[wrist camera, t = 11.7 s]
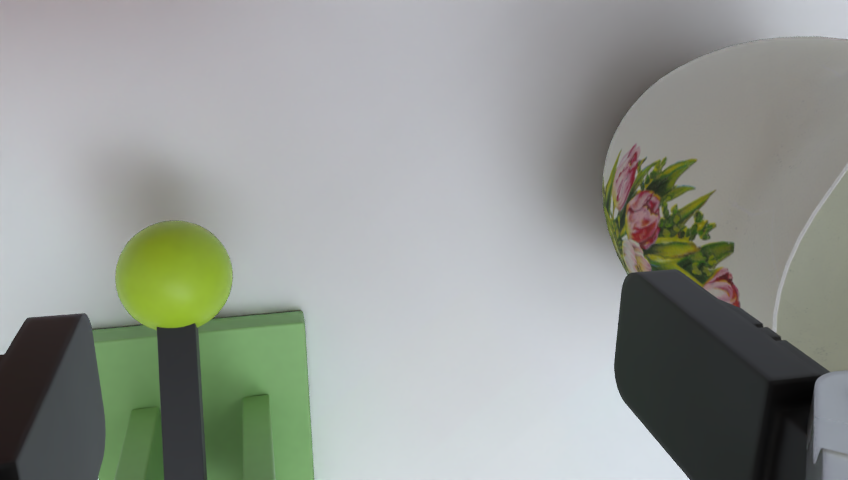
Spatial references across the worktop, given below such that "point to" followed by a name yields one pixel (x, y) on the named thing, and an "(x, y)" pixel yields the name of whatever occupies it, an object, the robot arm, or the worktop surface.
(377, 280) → the worktop surface
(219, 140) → the worktop surface
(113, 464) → the green crank stand
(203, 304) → the switch lever
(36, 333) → the robot arm
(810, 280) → the pitcher
